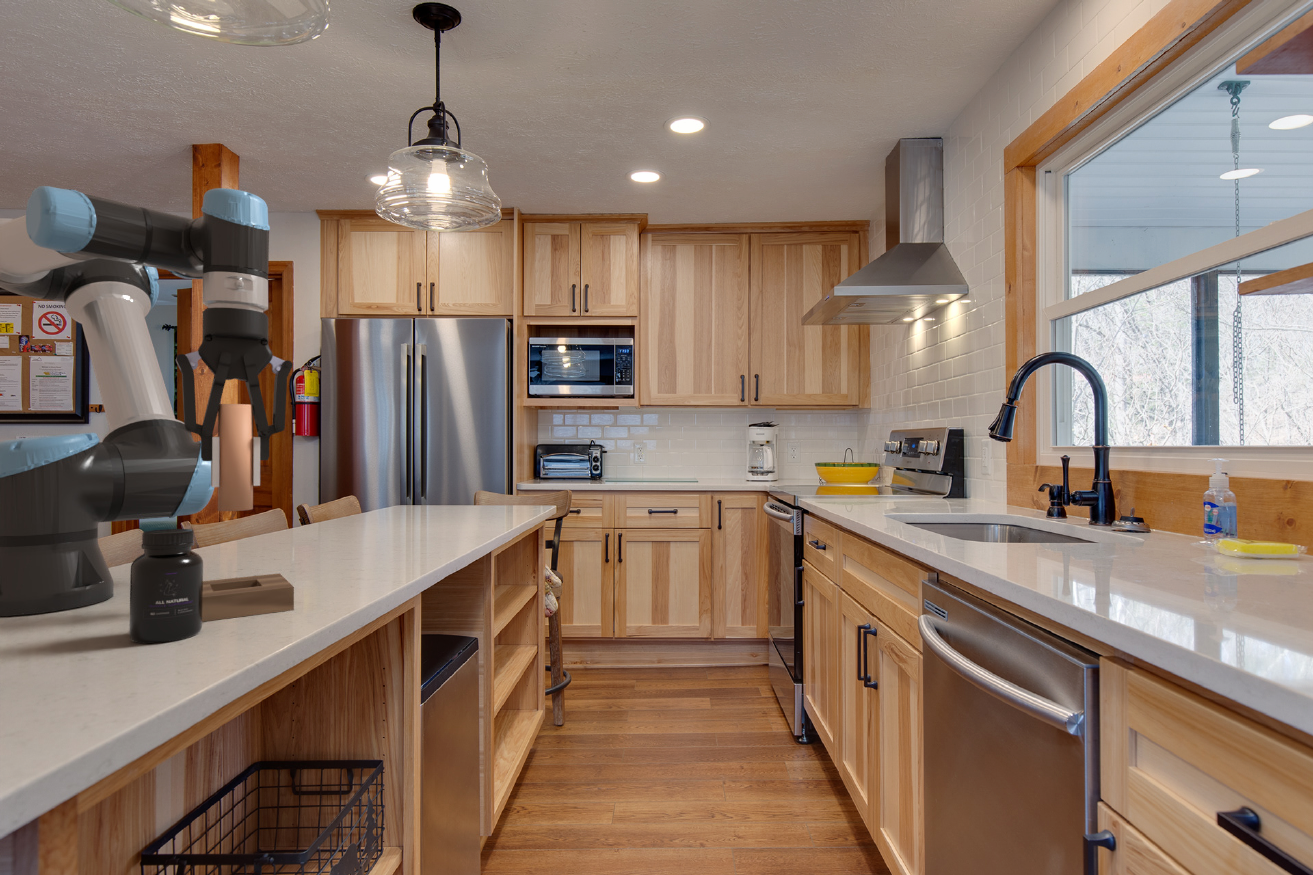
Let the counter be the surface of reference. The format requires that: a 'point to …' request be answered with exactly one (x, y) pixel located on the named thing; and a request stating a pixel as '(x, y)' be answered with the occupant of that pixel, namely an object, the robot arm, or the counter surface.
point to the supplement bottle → (166, 588)
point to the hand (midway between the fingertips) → (235, 485)
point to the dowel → (235, 457)
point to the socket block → (246, 596)
